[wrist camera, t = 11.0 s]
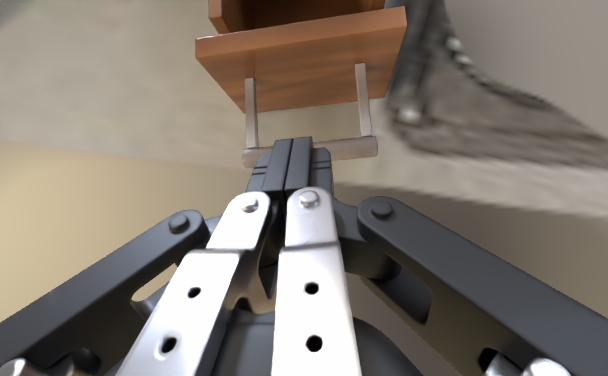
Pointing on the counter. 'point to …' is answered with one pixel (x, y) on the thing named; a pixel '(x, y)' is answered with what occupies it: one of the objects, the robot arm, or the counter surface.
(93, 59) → the counter surface
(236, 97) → the drawer
